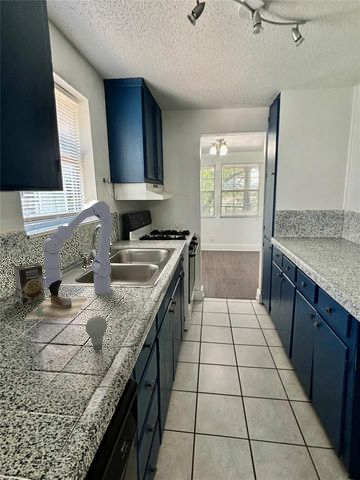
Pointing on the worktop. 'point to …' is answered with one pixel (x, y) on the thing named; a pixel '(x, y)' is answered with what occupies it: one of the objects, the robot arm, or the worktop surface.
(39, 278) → the coffee box
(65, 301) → the lever
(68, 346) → the worktop surface
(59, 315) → the dial board
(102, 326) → the lightbulb
